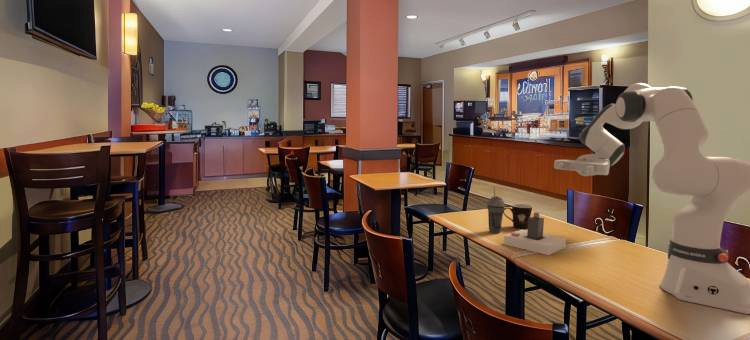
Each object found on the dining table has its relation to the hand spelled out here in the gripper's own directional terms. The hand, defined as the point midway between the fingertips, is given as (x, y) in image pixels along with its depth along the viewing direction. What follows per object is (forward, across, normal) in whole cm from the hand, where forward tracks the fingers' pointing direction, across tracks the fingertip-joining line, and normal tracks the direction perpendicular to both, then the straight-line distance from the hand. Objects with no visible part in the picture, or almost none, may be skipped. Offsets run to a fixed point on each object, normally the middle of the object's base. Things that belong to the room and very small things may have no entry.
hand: (573, 167), depth 170 cm
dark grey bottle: (+16, -6, +30) cm, 35 cm away
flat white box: (+16, -6, +30) cm, 35 cm away
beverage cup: (+10, -27, +30) cm, 42 cm away
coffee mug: (-6, -25, +30) cm, 40 cm away
